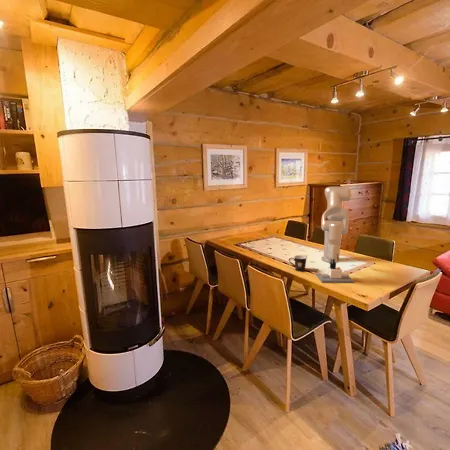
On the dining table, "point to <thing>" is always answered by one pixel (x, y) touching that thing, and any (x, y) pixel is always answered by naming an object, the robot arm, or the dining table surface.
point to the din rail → (329, 276)
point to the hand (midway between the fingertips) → (332, 268)
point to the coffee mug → (299, 262)
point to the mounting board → (335, 280)
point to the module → (335, 272)
